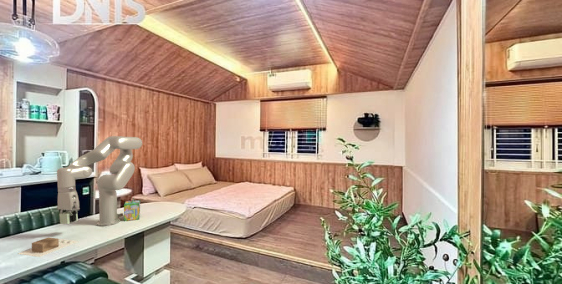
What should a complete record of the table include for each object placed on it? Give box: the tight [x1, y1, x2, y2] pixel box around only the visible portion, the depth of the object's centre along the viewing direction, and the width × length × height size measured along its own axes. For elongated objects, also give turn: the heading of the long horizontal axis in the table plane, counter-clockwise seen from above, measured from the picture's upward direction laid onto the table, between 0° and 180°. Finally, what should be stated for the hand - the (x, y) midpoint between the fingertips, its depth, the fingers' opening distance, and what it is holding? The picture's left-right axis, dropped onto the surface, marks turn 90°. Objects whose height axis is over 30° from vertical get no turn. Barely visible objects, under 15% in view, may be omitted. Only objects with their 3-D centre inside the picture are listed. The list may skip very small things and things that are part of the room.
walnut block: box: [31, 236, 60, 253], centre depth 124 cm, size 7×7×4 cm
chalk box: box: [123, 196, 141, 222], centre depth 173 cm, size 9×9×15 cm
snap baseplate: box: [17, 238, 80, 258], centre depth 126 cm, size 18×14×2 cm
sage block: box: [58, 210, 79, 225], centre depth 142 cm, size 6×6×6 cm
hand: (69, 220), depth 143 cm, fingers closed on sage block, 5 cm apart
